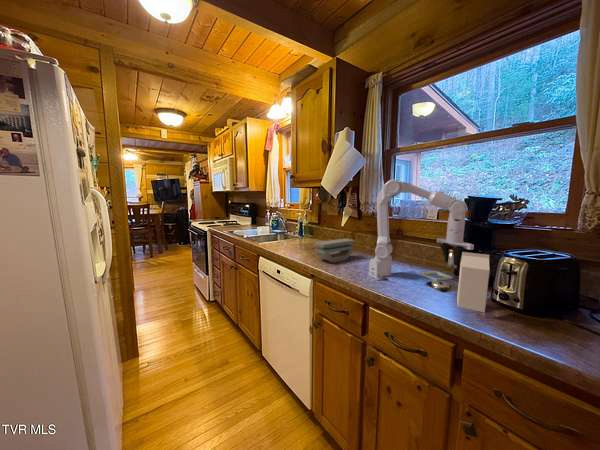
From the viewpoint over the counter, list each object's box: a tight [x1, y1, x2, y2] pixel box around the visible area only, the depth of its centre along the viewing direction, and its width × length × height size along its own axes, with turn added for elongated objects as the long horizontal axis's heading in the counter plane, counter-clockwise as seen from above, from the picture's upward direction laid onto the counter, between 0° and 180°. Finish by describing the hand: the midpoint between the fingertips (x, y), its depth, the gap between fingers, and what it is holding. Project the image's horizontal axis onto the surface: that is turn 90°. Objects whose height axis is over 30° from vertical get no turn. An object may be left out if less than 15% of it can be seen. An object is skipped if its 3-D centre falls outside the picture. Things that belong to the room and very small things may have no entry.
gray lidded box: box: [313, 238, 356, 263], centre depth 139 cm, size 25×8×11 cm, turn 125°
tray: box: [420, 270, 453, 282], centre depth 107 cm, size 9×8×2 cm
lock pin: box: [446, 249, 458, 269], centre depth 96 cm, size 4×4×7 cm
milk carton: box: [456, 251, 491, 317], centre depth 78 cm, size 7×7×19 cm
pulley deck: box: [423, 280, 459, 294], centre depth 95 cm, size 13×9×4 cm
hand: (452, 263), depth 97 cm, fingers closed on lock pin, 3 cm apart
